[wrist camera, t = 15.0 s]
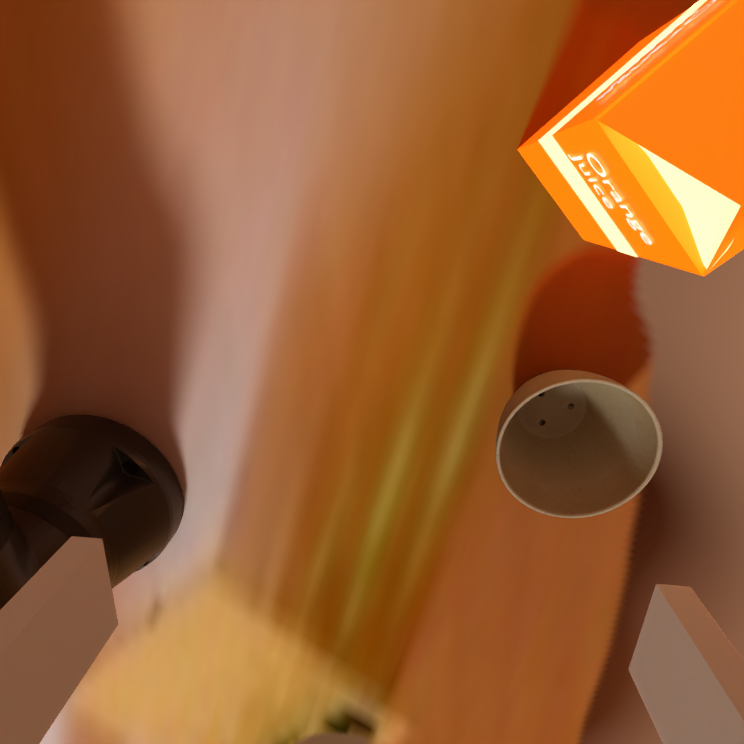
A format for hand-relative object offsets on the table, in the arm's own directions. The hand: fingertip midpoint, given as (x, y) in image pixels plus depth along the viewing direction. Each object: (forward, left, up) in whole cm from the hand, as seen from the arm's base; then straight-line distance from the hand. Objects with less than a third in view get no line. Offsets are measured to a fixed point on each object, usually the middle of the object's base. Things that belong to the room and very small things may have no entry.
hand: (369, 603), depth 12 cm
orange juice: (+12, +13, -26) cm, 31 cm away
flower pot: (+12, -5, -26) cm, 29 cm away
